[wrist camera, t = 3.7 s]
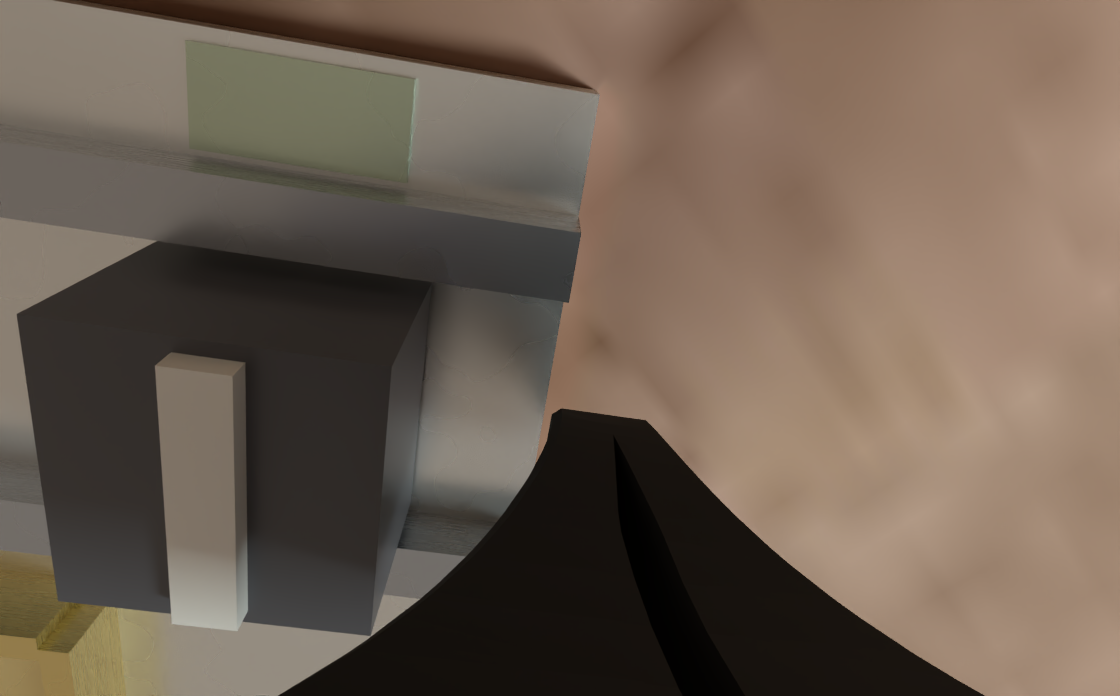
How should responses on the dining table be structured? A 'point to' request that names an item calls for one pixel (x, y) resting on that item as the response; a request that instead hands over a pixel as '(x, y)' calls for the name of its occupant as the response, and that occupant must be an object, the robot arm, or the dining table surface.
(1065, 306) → the dining table surface
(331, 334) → the switch
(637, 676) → the robot arm
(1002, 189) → the dining table surface
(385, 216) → the panel
